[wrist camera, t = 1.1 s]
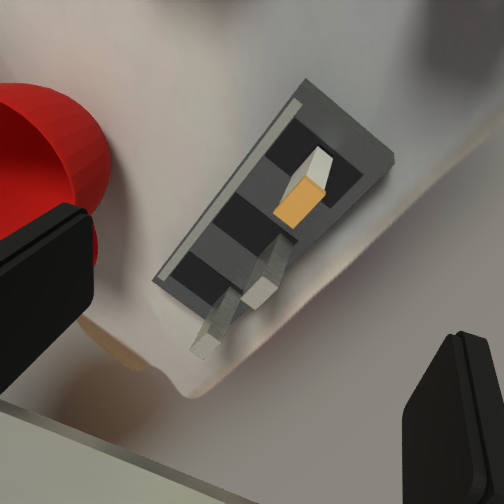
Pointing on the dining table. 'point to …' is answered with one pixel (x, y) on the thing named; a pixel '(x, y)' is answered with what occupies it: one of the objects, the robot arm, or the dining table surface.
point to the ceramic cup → (48, 156)
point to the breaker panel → (269, 213)
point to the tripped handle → (305, 188)
